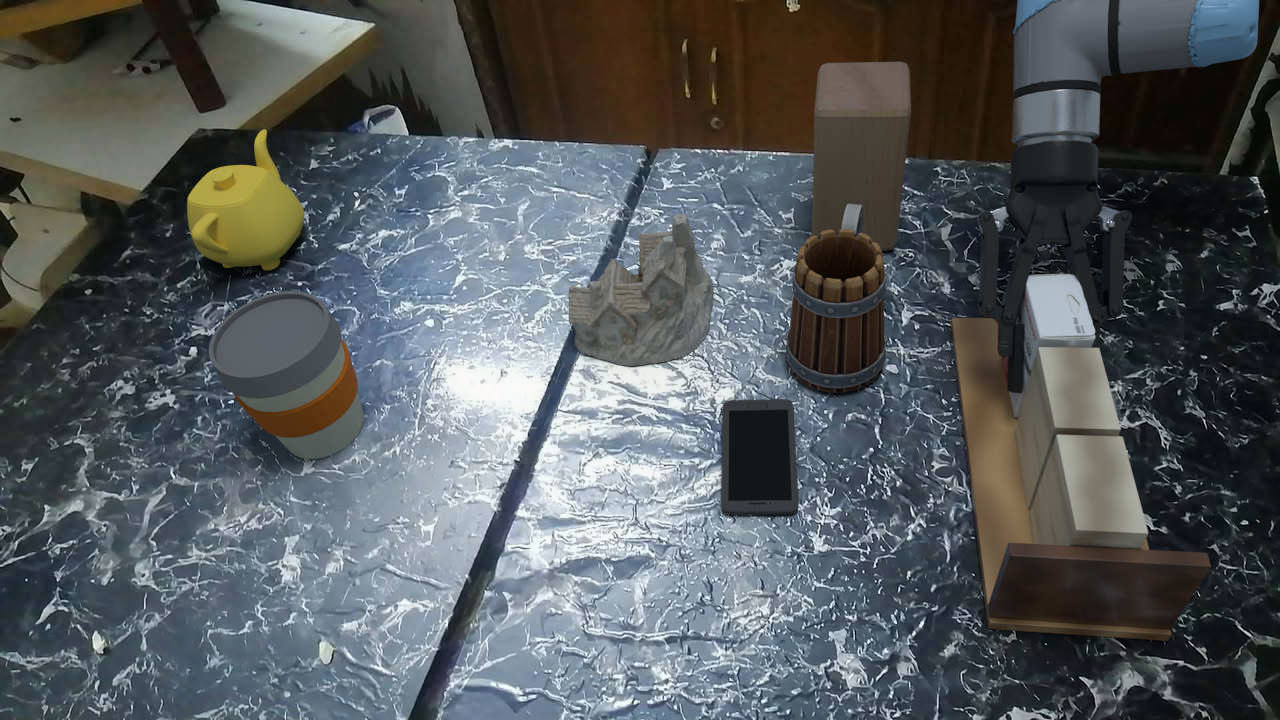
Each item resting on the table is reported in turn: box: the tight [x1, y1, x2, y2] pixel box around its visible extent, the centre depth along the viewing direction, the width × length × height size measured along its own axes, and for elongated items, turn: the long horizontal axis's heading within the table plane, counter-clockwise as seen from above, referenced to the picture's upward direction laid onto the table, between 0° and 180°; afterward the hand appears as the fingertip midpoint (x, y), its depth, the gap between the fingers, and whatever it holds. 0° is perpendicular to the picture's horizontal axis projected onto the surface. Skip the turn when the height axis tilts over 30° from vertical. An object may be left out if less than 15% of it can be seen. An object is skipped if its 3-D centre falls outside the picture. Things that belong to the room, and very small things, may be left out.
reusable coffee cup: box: [208, 290, 365, 460], centre depth 97 cm, size 12×12×15 cm
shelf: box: [950, 317, 1212, 642], centre depth 84 cm, size 14×36×13 cm, turn 172°
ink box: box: [1002, 273, 1095, 418], centre depth 89 cm, size 9×5×12 cm, turn 174°
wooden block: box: [811, 61, 912, 252], centre depth 108 cm, size 10×10×20 cm
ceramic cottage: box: [567, 213, 715, 367], centre depth 104 cm, size 16×16×15 cm
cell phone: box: [720, 398, 799, 516], centre depth 93 cm, size 7×14×1 cm, turn 176°
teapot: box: [186, 128, 306, 271], centre depth 123 cm, size 13×20×12 cm
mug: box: [785, 204, 887, 393], centre depth 97 cm, size 16×11×15 cm
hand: (1046, 392), depth 88 cm, fingers closed on ink box, 5 cm apart
